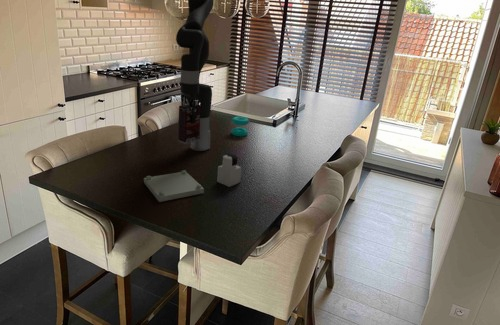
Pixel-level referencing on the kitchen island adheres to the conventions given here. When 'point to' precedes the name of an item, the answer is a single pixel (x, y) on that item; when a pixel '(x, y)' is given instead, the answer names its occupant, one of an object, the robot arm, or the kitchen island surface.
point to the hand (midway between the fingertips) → (189, 120)
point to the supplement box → (188, 126)
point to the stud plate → (173, 186)
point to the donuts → (239, 130)
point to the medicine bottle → (229, 171)
